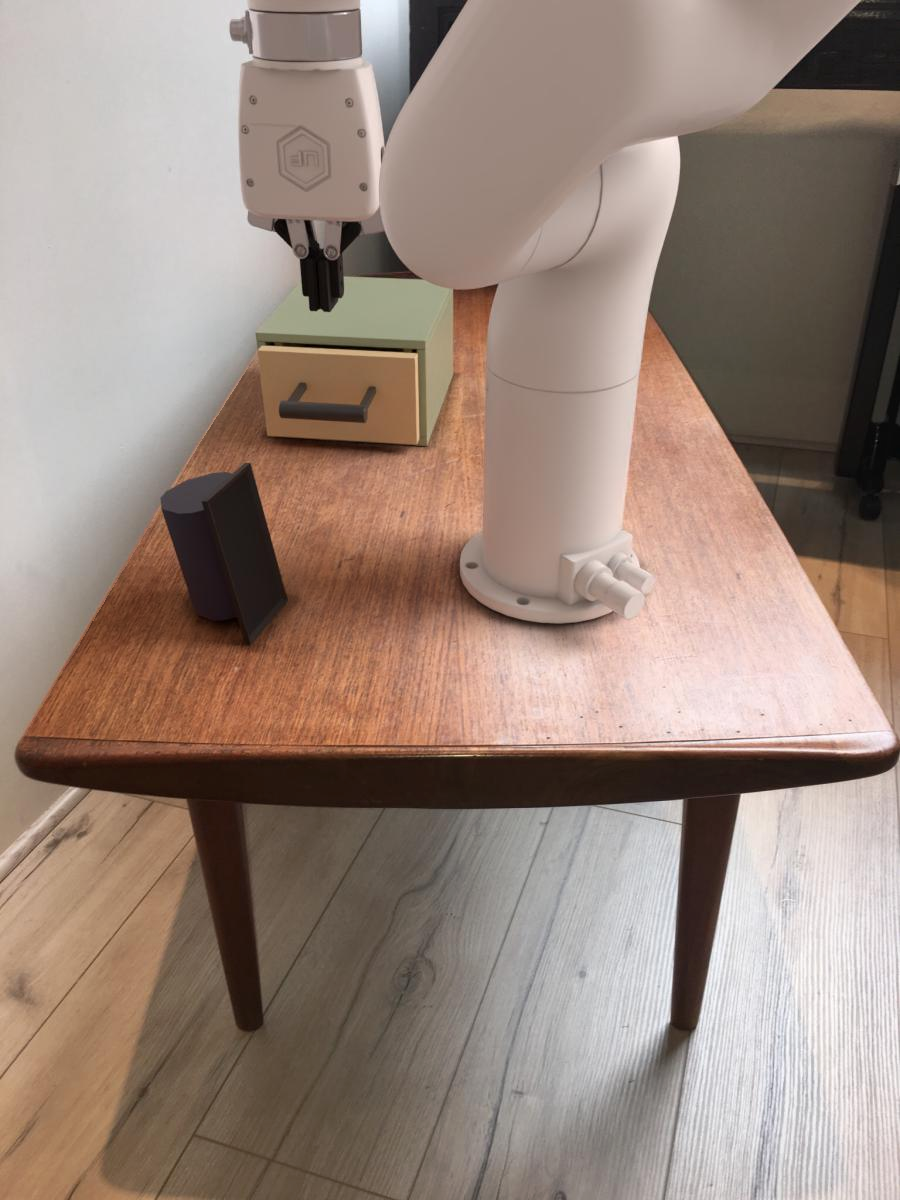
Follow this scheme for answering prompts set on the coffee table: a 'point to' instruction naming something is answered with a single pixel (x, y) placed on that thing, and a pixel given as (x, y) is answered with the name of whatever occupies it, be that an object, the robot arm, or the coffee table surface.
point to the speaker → (225, 549)
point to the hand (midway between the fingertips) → (324, 305)
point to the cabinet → (379, 330)
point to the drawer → (340, 392)
